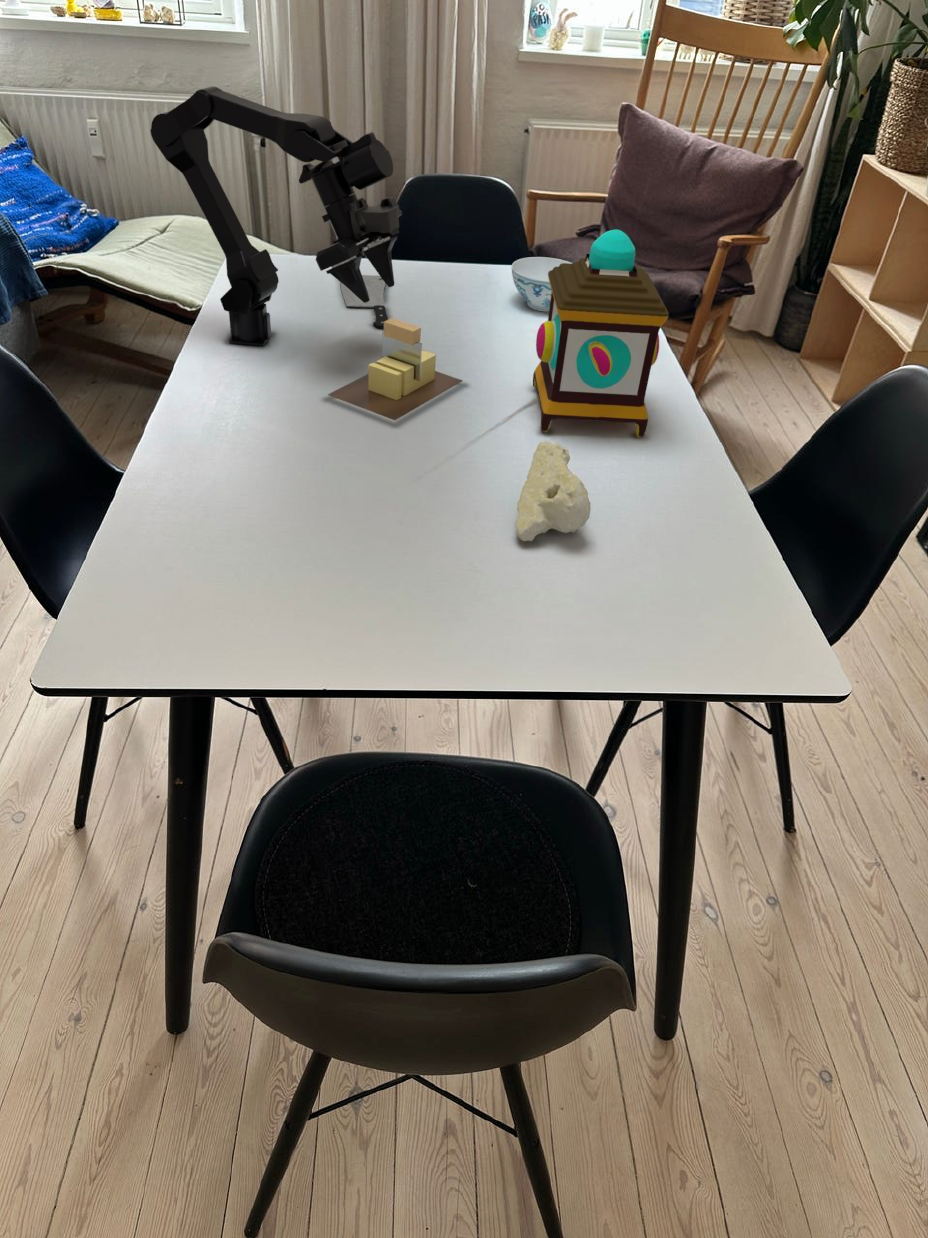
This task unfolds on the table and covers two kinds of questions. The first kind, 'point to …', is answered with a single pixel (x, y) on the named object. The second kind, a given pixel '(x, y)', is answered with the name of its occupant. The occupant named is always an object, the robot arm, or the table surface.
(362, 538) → the table surface
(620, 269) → the decorative lantern
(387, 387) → the butter slice
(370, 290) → the cleaver
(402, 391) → the butter block
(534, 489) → the cream rough rock
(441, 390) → the board
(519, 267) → the chinaware
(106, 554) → the table surface
